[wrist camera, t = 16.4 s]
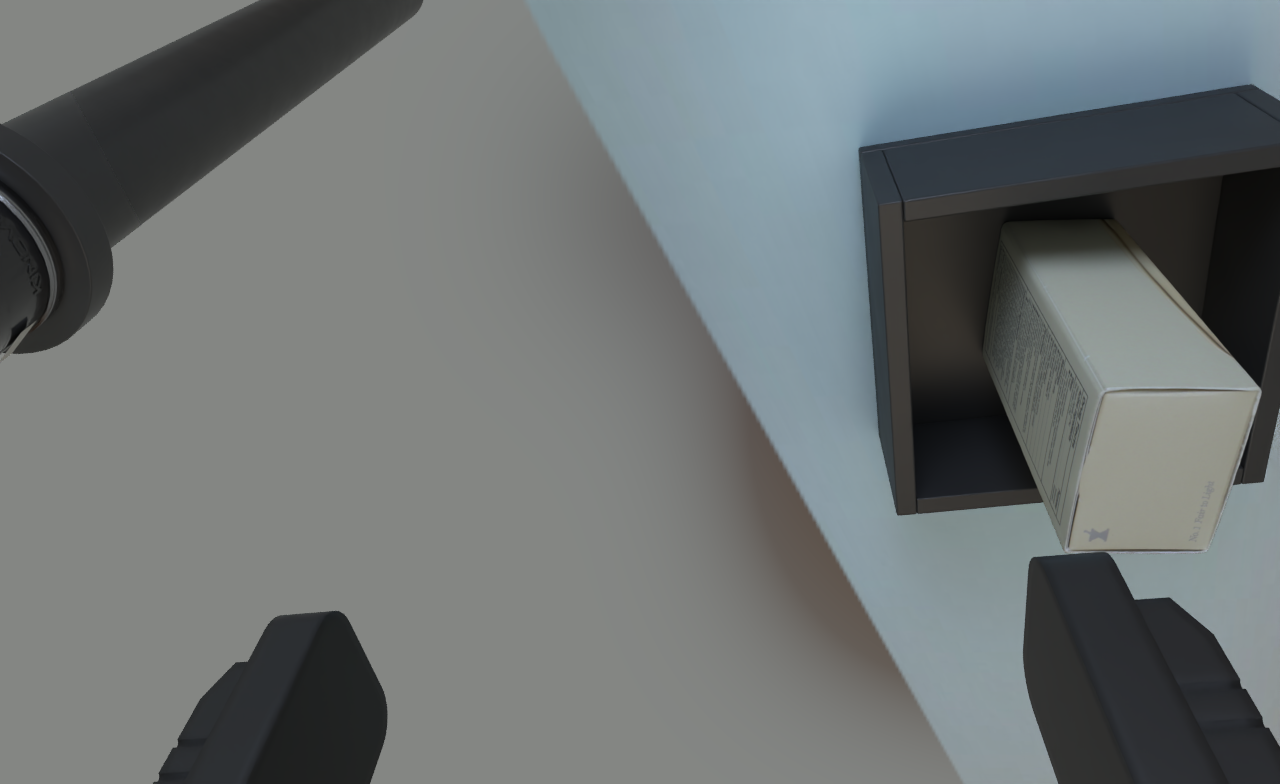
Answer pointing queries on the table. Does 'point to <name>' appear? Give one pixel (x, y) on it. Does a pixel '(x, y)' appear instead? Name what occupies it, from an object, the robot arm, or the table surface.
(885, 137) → the table surface
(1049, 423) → the cosmetic box
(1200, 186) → the dark grey open box
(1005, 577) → the table surface
